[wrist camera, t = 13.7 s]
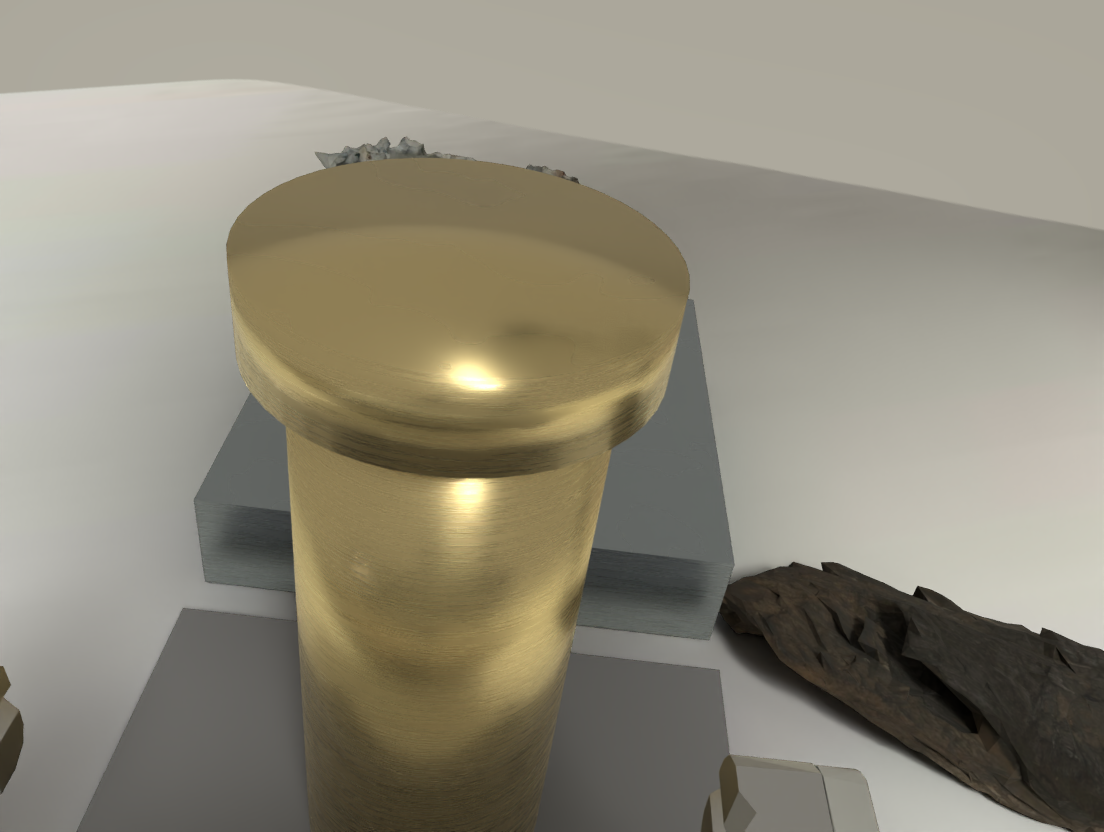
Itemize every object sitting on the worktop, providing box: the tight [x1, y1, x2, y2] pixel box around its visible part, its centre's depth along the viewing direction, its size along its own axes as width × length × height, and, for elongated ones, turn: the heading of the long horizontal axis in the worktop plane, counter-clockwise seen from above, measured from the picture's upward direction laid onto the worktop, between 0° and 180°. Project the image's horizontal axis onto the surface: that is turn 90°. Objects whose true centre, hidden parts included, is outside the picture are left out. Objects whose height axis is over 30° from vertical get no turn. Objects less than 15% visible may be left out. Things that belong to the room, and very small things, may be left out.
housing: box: [194, 299, 734, 640], centre depth 31 cm, size 14×14×3 cm
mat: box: [77, 608, 730, 832], centre depth 21 cm, size 14×9×1 cm, turn 87°
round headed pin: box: [226, 158, 690, 832], centre depth 17 cm, size 6×6×14 cm
